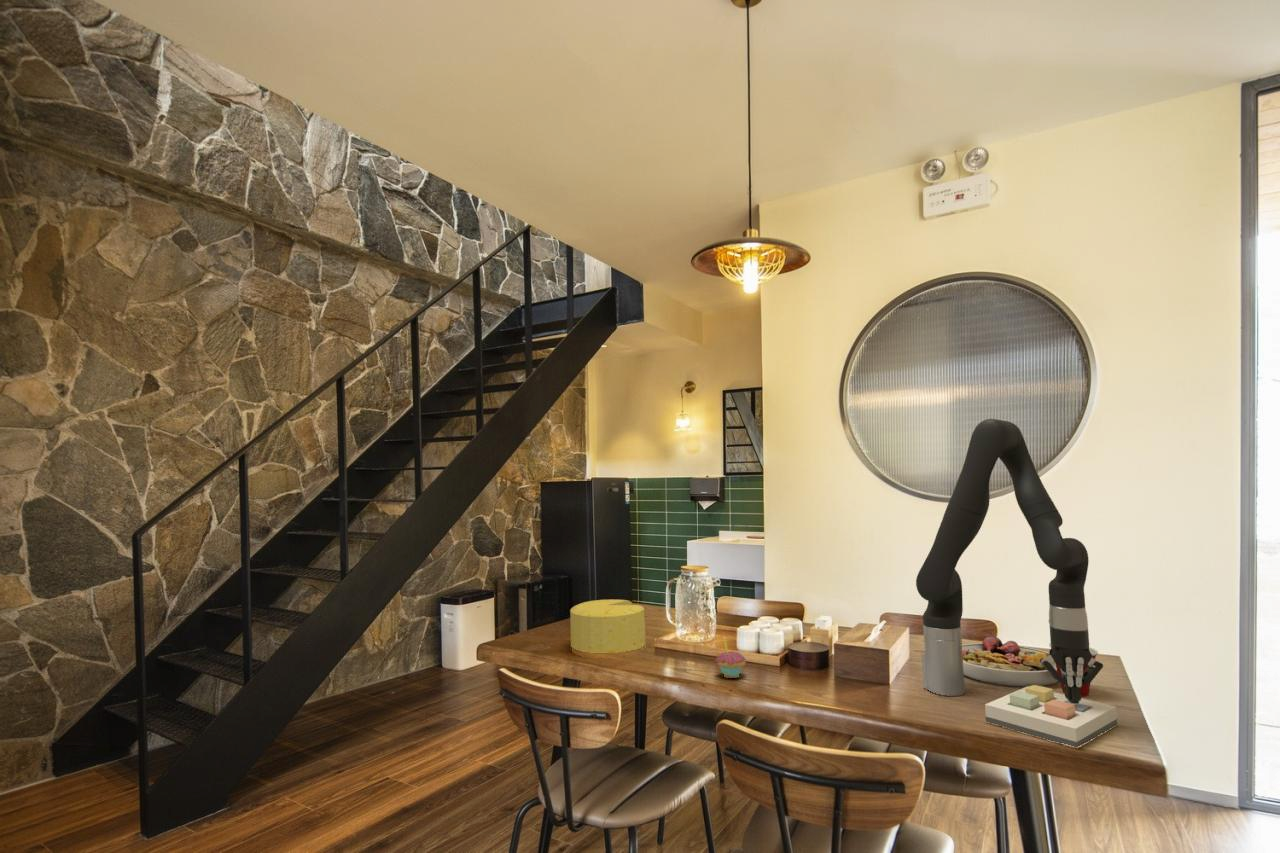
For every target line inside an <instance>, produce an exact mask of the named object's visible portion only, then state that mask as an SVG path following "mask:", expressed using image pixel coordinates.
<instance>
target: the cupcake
mask: <svg viewBox="0 0 1280 853" xmlns="http://www.w3.org/2000/svg"><path fill="white" fill-rule="evenodd" d="M722 636H723V639H722V640H723V646H724V649H725V650H724V651H723V652H722V653H720V654H719V655H717V657H716V658H715V662H716V665H718V667H720V670H721V674H722V673H723V674H725V675H730V676H736V675H739V674H740V675H741V671H742V668H743V667H745V666H746V663H747V661H746V658H745V657H744V656H743V654H741V653H740V652H737V651H729V648H728V645H727V640H726V637H725V635H724V634H722ZM723 674H722V675H723Z"/></svg>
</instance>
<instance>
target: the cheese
mask: <svg viewBox="0 0 1280 853" xmlns="http://www.w3.org/2000/svg"><path fill="white" fill-rule="evenodd" d="M645 611H646V610H645V607H644V606H642V605H640V604H633V602H632V601H631V600H626V599H610V598H609V599H598V600H596V599H595V600H589V601H584V602H581V603H579V604H575V605H574V606H572V607H571V608H570V610H569V612H570V613H569V614H570V615H569V616H570V617H569V619H570V620H569V621H570V648H571V647H572V648H574V649H576V650H579V651H582V652H589V653H618V652H626V651H631V650H636V649H639V648H641V647H643V646H644V645H645V646H646V620H645V618H646V617H645V616H646V615H645V614H646V613H645Z"/></svg>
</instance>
